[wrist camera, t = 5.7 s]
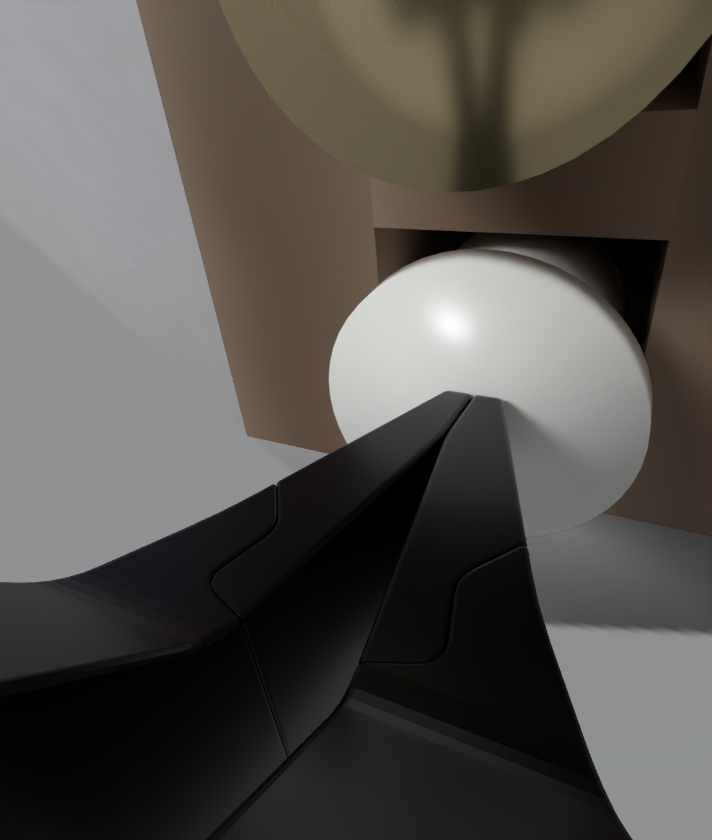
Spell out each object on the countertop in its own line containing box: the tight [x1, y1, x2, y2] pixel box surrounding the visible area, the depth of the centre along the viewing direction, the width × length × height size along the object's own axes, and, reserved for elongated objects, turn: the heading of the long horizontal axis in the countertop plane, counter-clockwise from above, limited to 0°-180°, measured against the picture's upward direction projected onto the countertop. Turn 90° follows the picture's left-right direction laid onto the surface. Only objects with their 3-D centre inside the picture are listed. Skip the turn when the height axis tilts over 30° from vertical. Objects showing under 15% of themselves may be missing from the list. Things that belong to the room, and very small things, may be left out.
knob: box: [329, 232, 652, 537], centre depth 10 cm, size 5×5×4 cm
